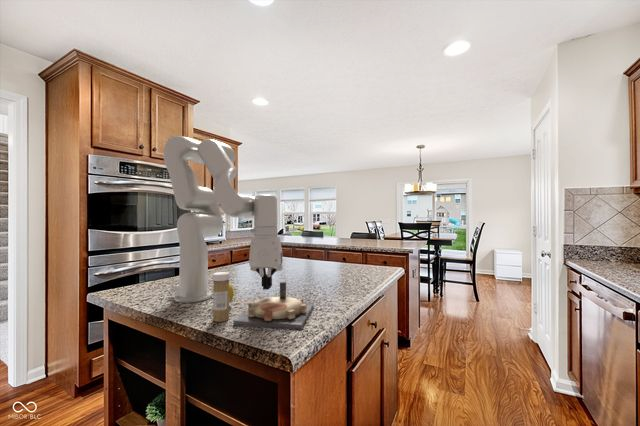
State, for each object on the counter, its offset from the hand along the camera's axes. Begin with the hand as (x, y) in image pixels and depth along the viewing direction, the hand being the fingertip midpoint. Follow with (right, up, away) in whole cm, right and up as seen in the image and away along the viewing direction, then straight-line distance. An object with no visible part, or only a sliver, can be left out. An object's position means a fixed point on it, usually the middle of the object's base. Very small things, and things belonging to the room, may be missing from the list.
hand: (266, 288), depth 90 cm
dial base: (+4, -6, -7) cm, 10 cm away
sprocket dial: (+4, -5, -7) cm, 9 cm away
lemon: (-14, -7, +2) cm, 16 cm away
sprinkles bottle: (-11, -6, -10) cm, 17 cm away
